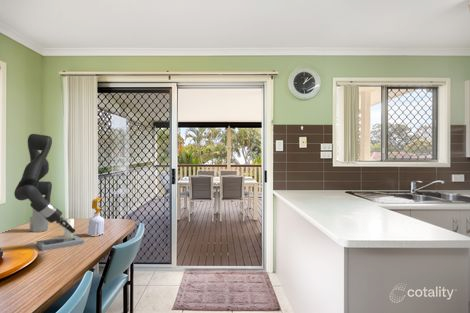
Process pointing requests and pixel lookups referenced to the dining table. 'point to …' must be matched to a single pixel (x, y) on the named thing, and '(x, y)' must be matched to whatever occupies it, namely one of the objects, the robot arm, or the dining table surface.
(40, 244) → the rectangular recess board
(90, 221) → the soap bottle
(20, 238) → the dining table surface
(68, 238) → the cream rounded cylinder
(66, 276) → the dining table surface
